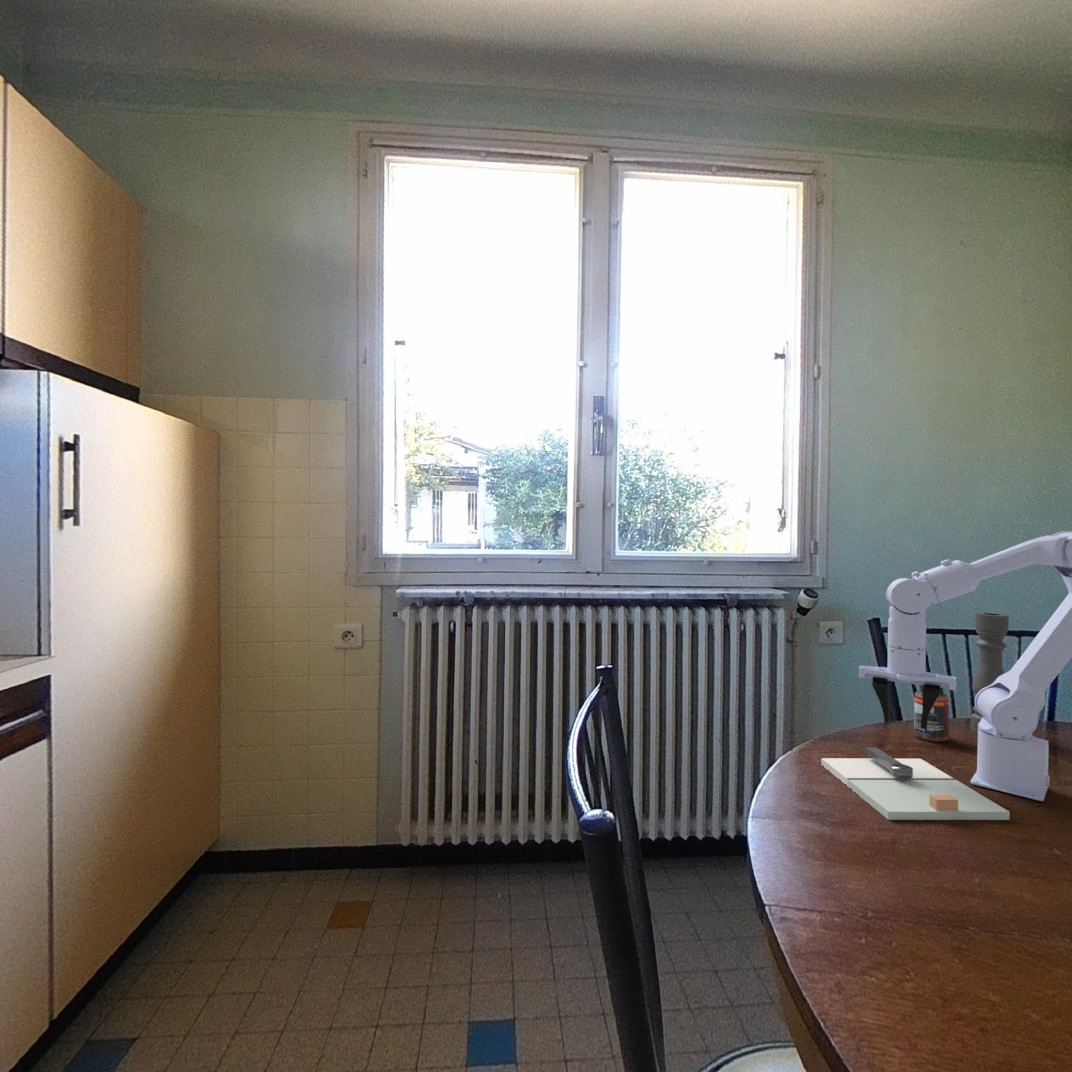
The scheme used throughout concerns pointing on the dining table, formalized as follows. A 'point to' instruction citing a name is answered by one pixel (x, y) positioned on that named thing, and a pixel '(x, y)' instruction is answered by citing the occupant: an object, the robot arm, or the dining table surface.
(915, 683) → the robot arm
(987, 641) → the candle holder
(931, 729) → the supplement bottle
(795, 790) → the dining table surface
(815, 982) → the dining table surface
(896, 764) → the bar
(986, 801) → the plate
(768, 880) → the dining table surface
